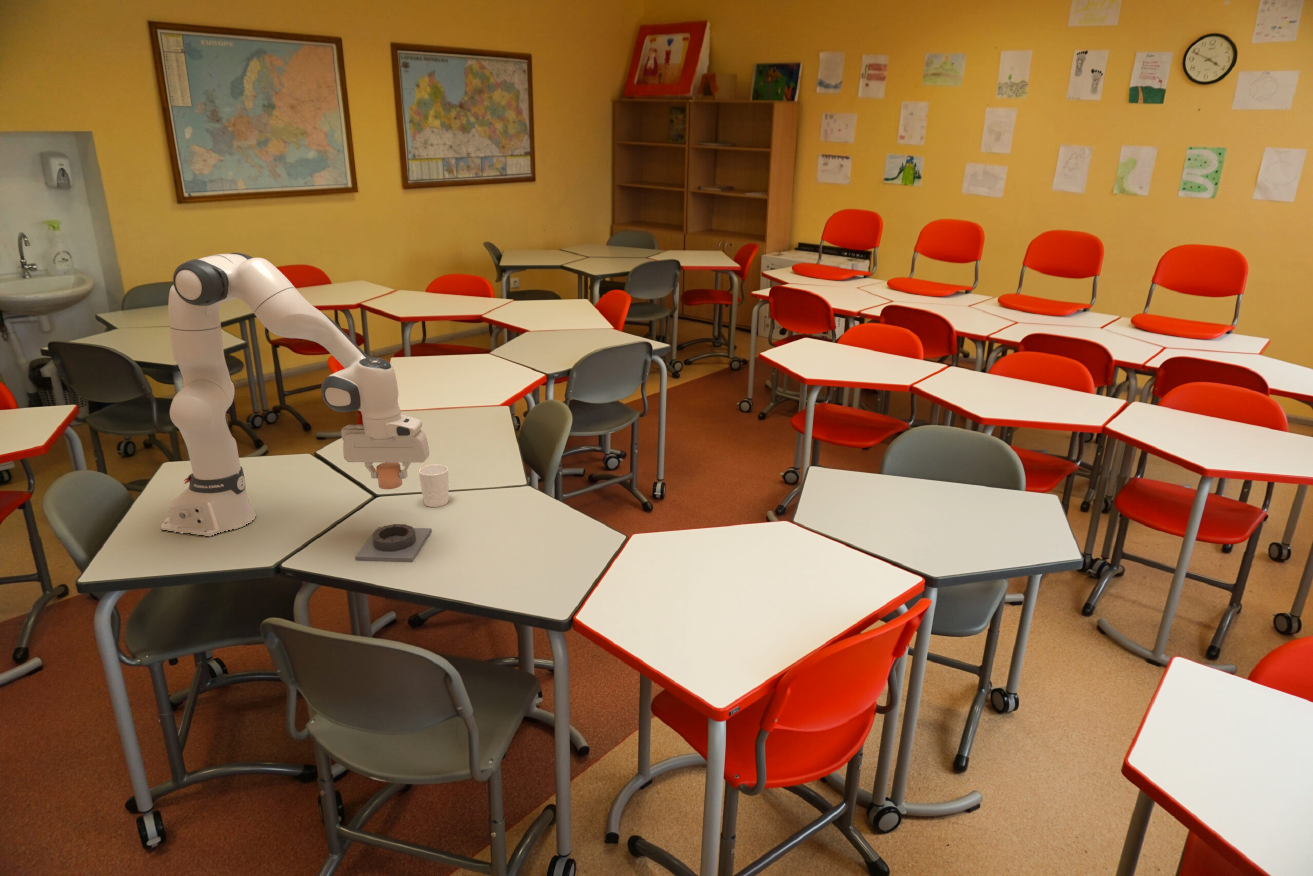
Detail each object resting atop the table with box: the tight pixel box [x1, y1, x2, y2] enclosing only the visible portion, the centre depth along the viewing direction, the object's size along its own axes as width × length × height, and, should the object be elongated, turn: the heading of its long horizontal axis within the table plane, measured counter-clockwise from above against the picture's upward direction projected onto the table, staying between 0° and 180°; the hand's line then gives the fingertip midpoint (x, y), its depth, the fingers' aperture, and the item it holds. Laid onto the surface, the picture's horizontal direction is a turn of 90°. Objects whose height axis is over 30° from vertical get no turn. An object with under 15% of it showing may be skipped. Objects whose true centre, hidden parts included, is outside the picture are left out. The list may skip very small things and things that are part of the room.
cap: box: [375, 462, 403, 490], centre depth 200 cm, size 6×6×5 cm
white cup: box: [418, 463, 450, 508], centre depth 227 cm, size 8×8×10 cm
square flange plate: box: [354, 523, 433, 563], centre depth 204 cm, size 14×16×4 cm
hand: (389, 477), depth 200 cm, fingers closed on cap, 6 cm apart
